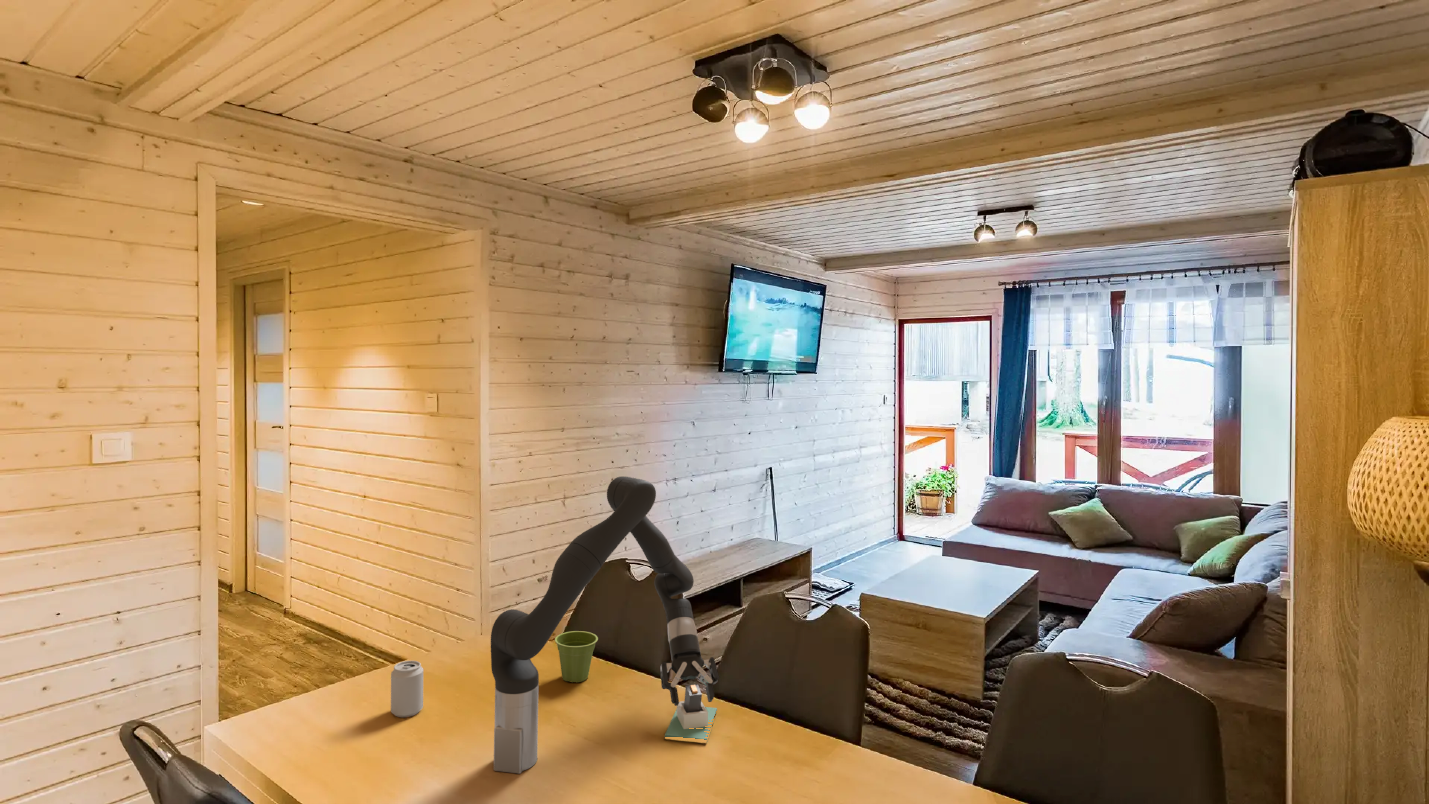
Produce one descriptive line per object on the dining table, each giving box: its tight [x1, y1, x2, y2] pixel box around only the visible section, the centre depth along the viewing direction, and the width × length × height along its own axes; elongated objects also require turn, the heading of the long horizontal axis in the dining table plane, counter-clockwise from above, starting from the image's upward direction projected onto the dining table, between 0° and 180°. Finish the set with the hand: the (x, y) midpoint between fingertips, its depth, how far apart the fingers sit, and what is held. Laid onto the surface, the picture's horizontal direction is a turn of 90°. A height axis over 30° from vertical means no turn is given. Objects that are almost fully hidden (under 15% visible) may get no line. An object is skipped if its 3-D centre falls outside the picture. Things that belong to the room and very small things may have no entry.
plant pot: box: [554, 630, 599, 683], centre depth 204 cm, size 12×12×11 cm
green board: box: [664, 706, 718, 740], centre depth 179 cm, size 16×10×1 cm, turn 171°
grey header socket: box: [676, 700, 708, 729], centre depth 179 cm, size 7×6×4 cm
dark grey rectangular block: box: [683, 683, 703, 713], centre depth 179 cm, size 4×3×8 cm
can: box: [390, 660, 424, 718], centre depth 182 cm, size 8×8×12 cm
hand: (693, 702), depth 178 cm, fingers open, 8 cm apart
